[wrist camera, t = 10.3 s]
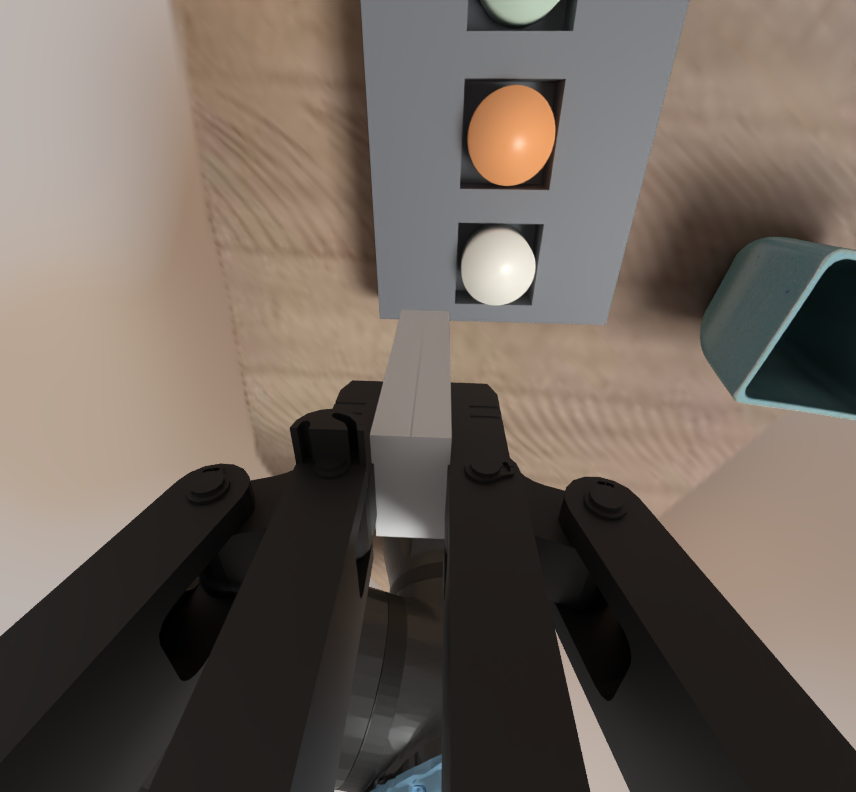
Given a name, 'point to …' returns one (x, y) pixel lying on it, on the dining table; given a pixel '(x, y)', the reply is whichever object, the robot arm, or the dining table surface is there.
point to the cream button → (497, 264)
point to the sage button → (518, 11)
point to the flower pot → (786, 327)
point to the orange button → (511, 135)
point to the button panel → (548, 189)
